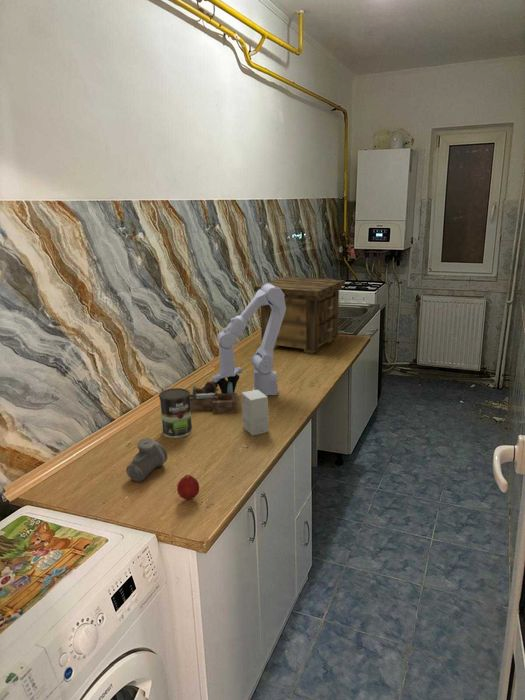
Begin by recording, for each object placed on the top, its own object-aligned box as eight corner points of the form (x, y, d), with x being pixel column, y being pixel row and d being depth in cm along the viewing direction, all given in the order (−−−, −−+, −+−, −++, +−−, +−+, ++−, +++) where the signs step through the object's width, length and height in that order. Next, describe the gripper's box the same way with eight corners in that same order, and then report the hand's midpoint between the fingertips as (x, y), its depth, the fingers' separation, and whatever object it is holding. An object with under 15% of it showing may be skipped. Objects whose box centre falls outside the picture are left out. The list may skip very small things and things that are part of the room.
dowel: (233, 395, 207) (232, 381, 205) (232, 398, 204) (232, 384, 202) (224, 395, 207) (223, 381, 205) (223, 399, 203) (223, 385, 202)
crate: (286, 332, 297) (285, 276, 287) (343, 339, 280) (344, 280, 270) (255, 348, 268) (253, 286, 259) (317, 357, 251) (317, 291, 242)
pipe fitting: (147, 458, 158) (144, 430, 154) (169, 465, 155) (166, 437, 151) (122, 482, 148) (118, 453, 144) (145, 489, 145) (142, 460, 141)
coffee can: (196, 433, 175) (194, 395, 171) (167, 440, 170) (164, 401, 166) (186, 422, 184) (183, 385, 179) (158, 429, 179) (155, 391, 175)
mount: (237, 402, 200) (236, 389, 198) (237, 411, 191) (236, 398, 190) (190, 404, 199) (190, 391, 198) (188, 413, 191) (187, 400, 189)
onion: (179, 494, 140) (176, 468, 137) (200, 493, 140) (198, 467, 138) (177, 507, 134) (175, 480, 132) (199, 505, 135) (197, 478, 132)
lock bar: (215, 395, 196) (214, 385, 194) (214, 398, 193) (214, 388, 192) (194, 396, 195) (193, 386, 194) (193, 399, 192) (192, 389, 191)
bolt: (217, 392, 216) (200, 405, 202) (207, 385, 216) (190, 397, 203) (222, 381, 213) (206, 393, 200) (213, 375, 214) (196, 386, 200)
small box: (269, 432, 175) (268, 396, 171) (252, 436, 172) (251, 400, 168) (258, 423, 182) (257, 388, 178) (242, 426, 179) (241, 392, 175)
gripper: (220, 368, 193) (222, 402, 197) (246, 359, 203) (248, 390, 207) (207, 364, 198) (209, 397, 202) (234, 355, 208) (235, 387, 212)
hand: (228, 394), depth 205 cm, fingers closed on dowel, 4 cm apart
